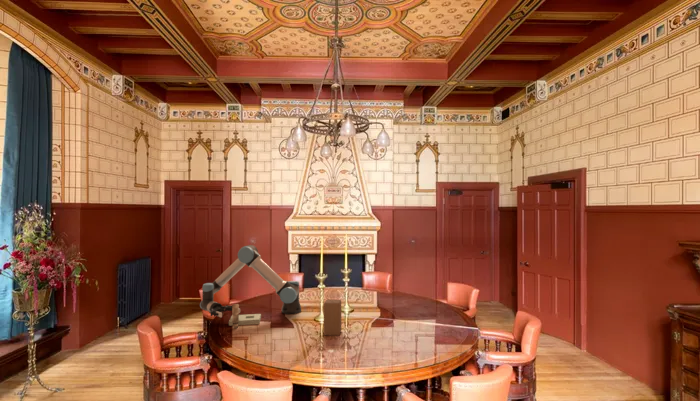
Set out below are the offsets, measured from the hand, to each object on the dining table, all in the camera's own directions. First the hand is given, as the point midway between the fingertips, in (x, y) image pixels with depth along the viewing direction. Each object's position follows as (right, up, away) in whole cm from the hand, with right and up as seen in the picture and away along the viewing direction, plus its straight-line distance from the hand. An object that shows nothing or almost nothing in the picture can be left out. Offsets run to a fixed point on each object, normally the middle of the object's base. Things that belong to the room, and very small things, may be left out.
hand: (231, 313), depth 236 cm
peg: (+4, -9, -3) cm, 10 cm away
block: (+69, -8, -15) cm, 71 cm away
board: (+7, -9, +10) cm, 15 cm away
